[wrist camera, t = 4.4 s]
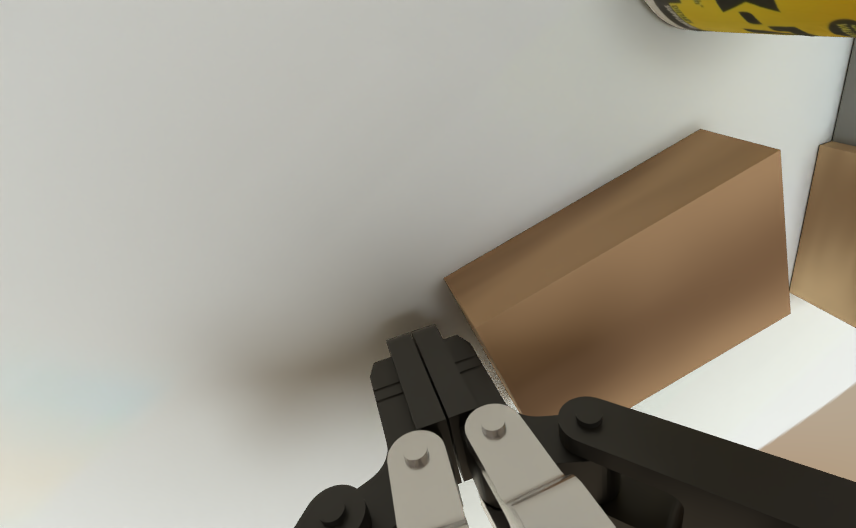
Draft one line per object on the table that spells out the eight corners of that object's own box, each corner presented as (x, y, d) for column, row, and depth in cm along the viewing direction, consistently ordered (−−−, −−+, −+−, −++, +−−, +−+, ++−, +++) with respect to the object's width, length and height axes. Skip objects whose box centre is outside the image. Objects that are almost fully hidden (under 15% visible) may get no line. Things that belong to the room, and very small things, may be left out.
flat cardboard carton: (440, 274, 15) (474, 328, 12) (693, 127, 15) (779, 150, 12) (507, 393, 18) (546, 456, 15) (716, 271, 18) (790, 313, 15)
